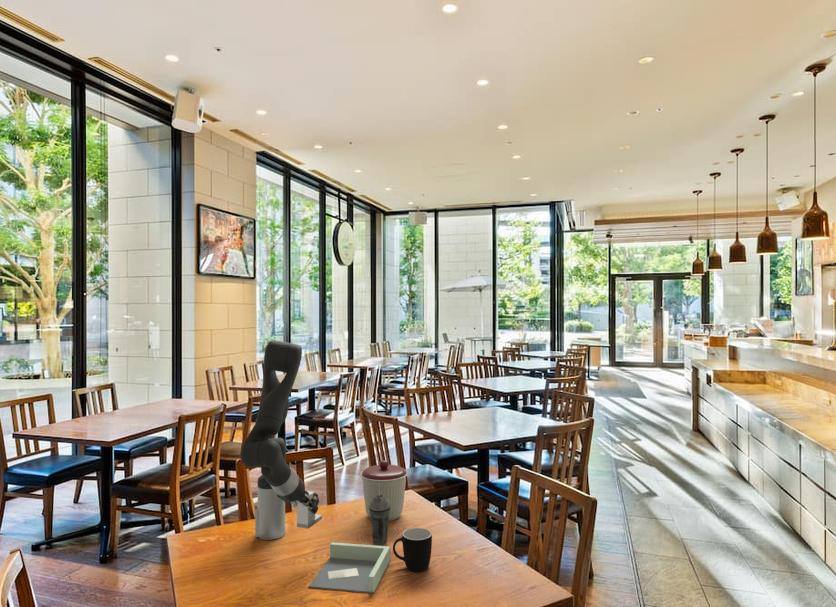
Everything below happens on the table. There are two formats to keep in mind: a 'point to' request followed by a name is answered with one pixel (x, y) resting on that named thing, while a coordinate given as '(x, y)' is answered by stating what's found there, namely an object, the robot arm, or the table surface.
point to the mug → (415, 548)
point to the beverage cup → (379, 518)
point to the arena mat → (345, 575)
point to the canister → (385, 486)
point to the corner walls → (364, 558)
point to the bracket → (306, 515)
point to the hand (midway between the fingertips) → (309, 509)
